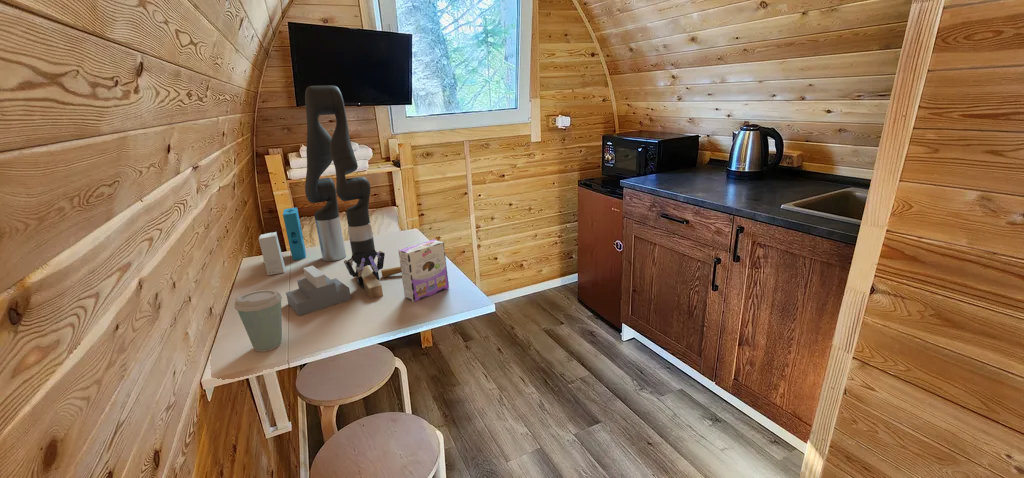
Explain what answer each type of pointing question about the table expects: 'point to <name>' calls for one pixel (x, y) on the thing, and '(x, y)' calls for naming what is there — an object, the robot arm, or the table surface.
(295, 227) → the block
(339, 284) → the ridge stand
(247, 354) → the table surface
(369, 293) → the oak beam
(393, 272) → the kendama
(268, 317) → the disposable coffee cup
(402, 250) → the candy box
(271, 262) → the skincare box
